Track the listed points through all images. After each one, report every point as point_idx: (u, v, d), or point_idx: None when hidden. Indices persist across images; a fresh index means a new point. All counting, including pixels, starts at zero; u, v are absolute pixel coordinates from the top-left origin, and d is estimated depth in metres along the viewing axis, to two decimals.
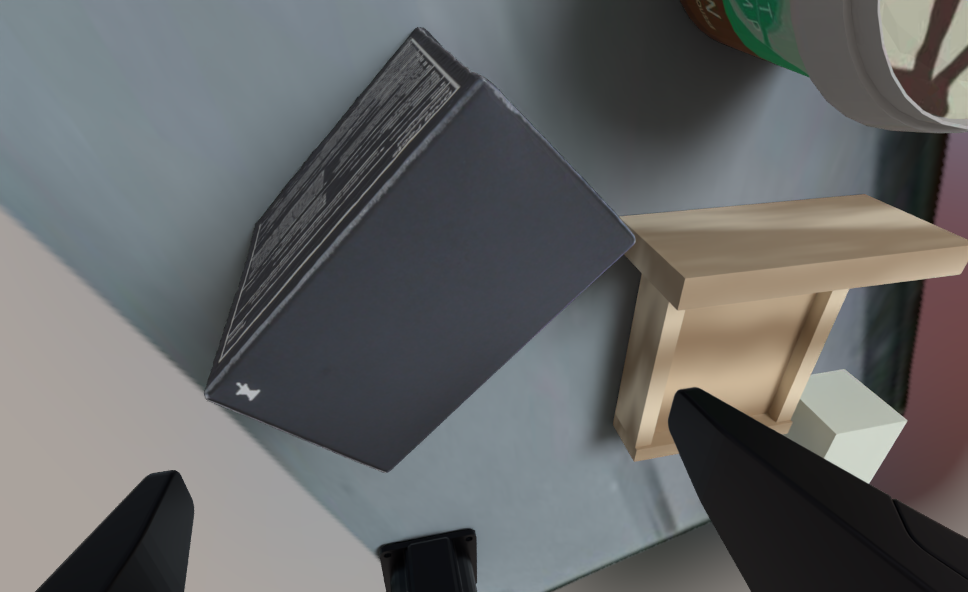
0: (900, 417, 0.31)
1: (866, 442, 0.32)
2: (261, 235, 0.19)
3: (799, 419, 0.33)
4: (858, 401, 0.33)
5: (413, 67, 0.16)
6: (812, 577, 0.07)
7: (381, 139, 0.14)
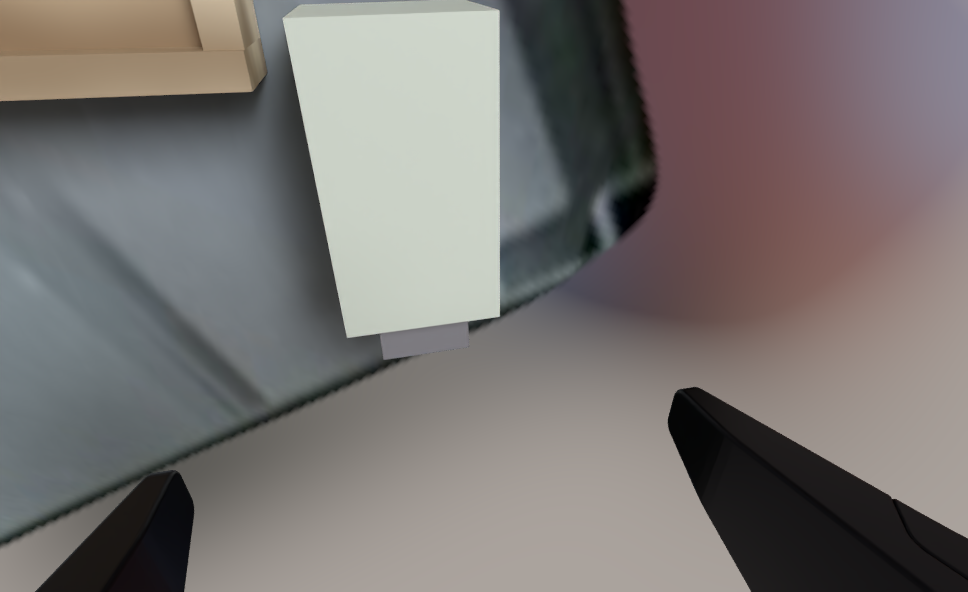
0: (488, 9, 0.13)
1: (409, 77, 0.13)
2: None
3: None
4: (424, 6, 0.14)
5: None
6: (812, 577, 0.07)
7: None
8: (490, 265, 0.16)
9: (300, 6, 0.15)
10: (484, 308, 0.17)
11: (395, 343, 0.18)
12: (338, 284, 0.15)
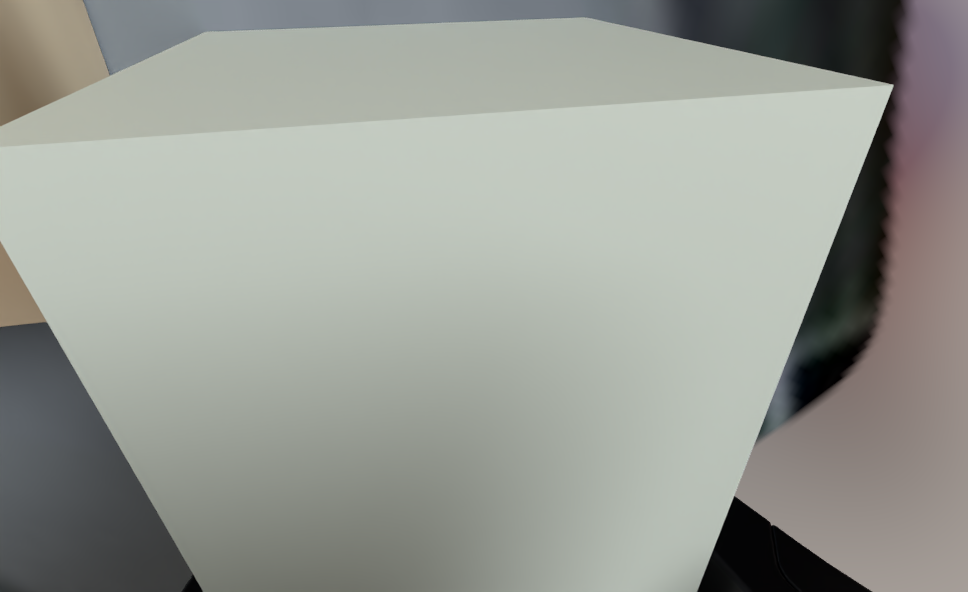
0: (828, 76, 0.03)
1: (526, 321, 0.04)
2: None
3: None
4: (544, 51, 0.05)
5: None
6: None
7: None
8: None
9: (191, 41, 0.06)
10: None
11: None
12: None
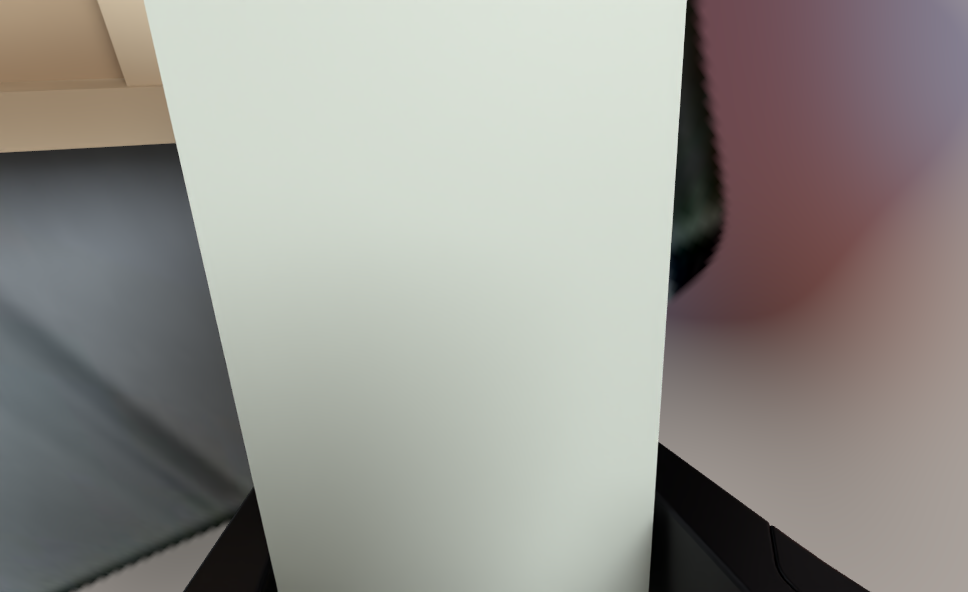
0: None
1: (472, 143, 0.05)
2: None
3: None
4: None
5: None
6: None
7: None
8: (632, 546, 0.07)
9: None
10: None
11: None
12: None
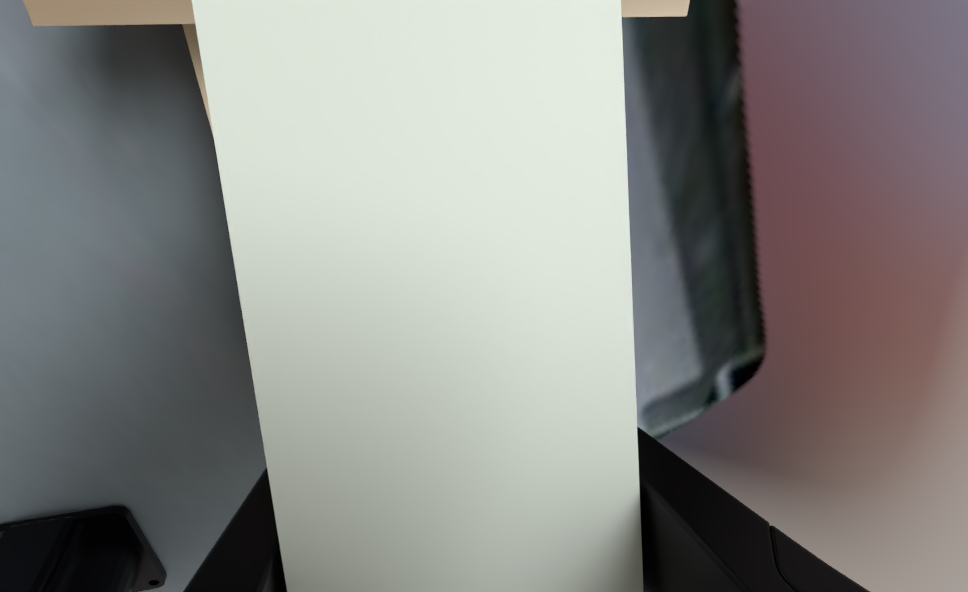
0: None
1: (451, 107, 0.06)
2: None
3: None
4: None
5: None
6: None
7: None
8: (621, 502, 0.08)
9: None
10: None
11: None
12: (288, 569, 0.07)
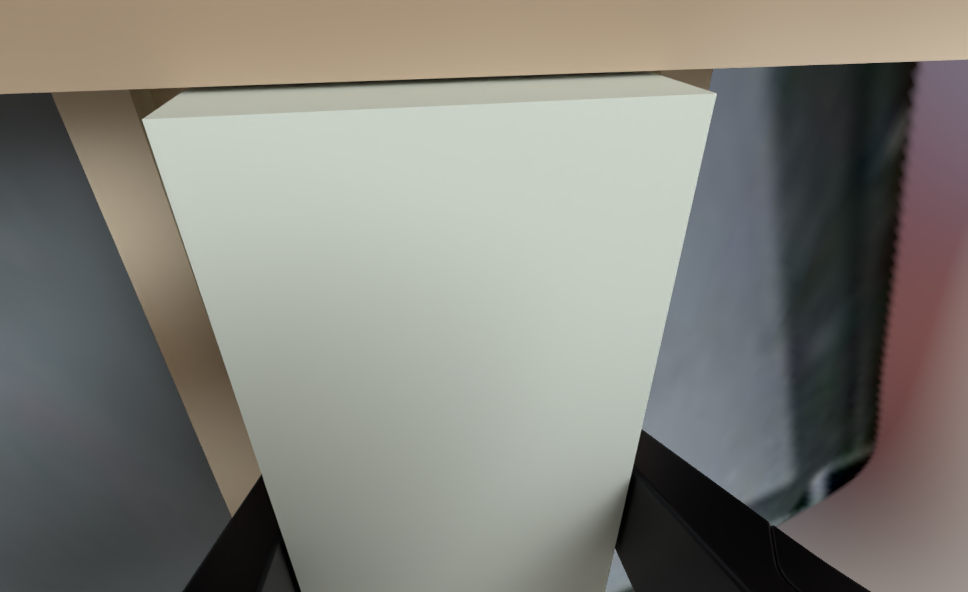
0: (681, 87, 0.05)
1: (483, 246, 0.05)
2: None
3: None
4: None
5: None
6: None
7: None
8: (600, 540, 0.09)
9: None
10: None
11: None
12: None
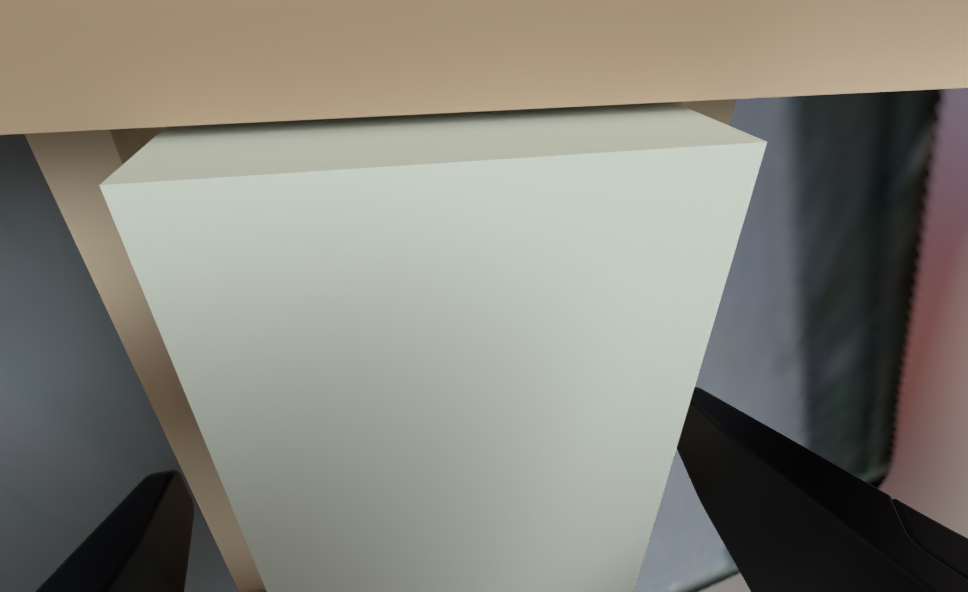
0: (725, 132, 0.05)
1: (498, 311, 0.05)
2: None
3: None
4: None
5: None
6: (812, 577, 0.07)
7: None
8: None
9: None
10: None
11: None
12: None
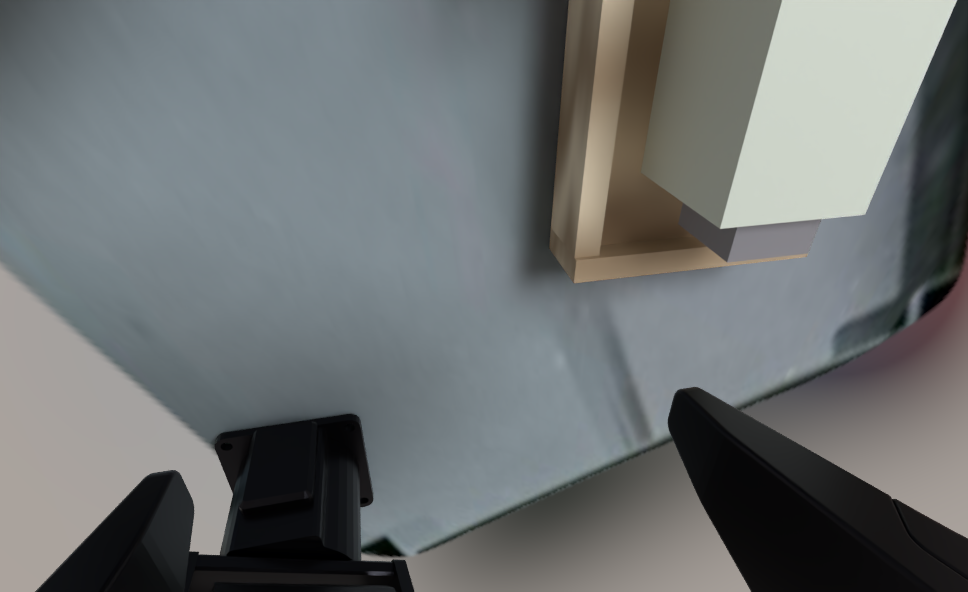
0: None
1: None
2: None
3: None
4: None
5: None
6: (812, 577, 0.07)
7: None
8: (883, 150, 0.15)
9: None
10: (855, 203, 0.16)
11: (745, 242, 0.16)
12: (741, 161, 0.14)
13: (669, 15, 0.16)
